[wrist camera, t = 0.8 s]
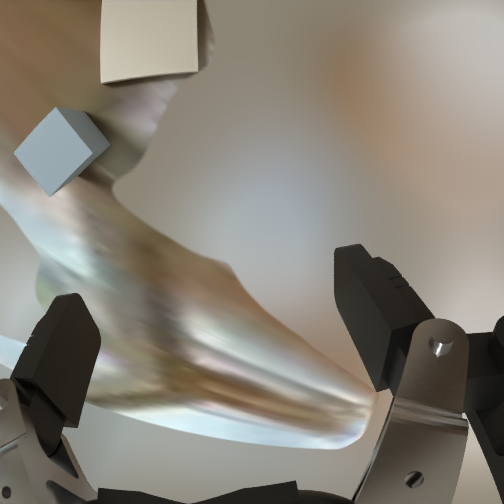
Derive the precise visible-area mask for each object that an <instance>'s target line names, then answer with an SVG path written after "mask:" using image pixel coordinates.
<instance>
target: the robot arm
mask: <svg viewBox="0 0 504 504" xmlns="http://www.w3.org/2000/svg"><path fill="white" fill-rule="evenodd" d="M334 295H335V301H336V305H337V308H338V311H339V313H340V315H341V317H342V319H343V321H344V323H345V325H346V327H347V329H348V331H349V334H350V335H351V338H352V340H353V342H354V344H355V346H356V348H357V350H358V352H359V355H360V357H361V359H362V361H363V363H364V365H365V368H366V370H367V372H368V374H369V376H370V379H371V381H372V383H373V385H374V388H375V390H376V392H379V391H382V390H385V389H388V388H390V390H391V393H392V395H393V399H392V402H391V405H390V408H389V411H388V414H387V417H386V419H385V422H384V425H383V428H382V430H381V433H380V436H379V438H378V441H377V443H376V446H375V448H374V451H373V453H372V456H371V458H370V460H369V463H368V465H367V467H366V469H365V471H364V473H363V476H362V478H361V480H360V482H359V484H358V486H357V488H356V490H355V493H354V495H353V497H352V499H351V500H349V499H347V498H344V497H341V496H338V495H335V494H331V493H326V492H321V491H312V490H298V489H297V483H296V481H290V482H285V483H280V484H273V485H267V486H260V487H252V488H243V489H240V490H237V491H234V492H231V493H228V494H225V495H221V496H218V497H214V498H211V499H208V500H204V501H200V502H197V503H192V504H451V503H452V499H453V496H454V493H455V489H456V486H457V482H458V478H459V474H460V470H461V466H462V462H463V457H464V452H465V447H466V442H467V436H468V429H469V426H468V421H467V419H463V418H462V413H465V414H466V416H467V418H468V420H469V422H470V424H471V427H472V429H473V431H474V433H475V435H476V437H477V440H478V442H479V444H480V446H481V449H482V451H483V454H484V456H485V458H486V461H487V463H488V466H489V468H490V471H491V473H492V476H493V478H494V481H495V484H496V486H497V489H498V492H499V494H500V497H501V500H502V503H503V504H504V316H502V317H501V318H500V319H499V320H498V321H497V323H496V325H495V328H494V330H493V332H486V333H472V334H466V333H465V331H464V330H463V329H462V328H461V327H460V326H459V325H457V324H455V323H454V322H452V321H449V320H445V319H439V318H438V319H437V318H435V317H434V315H433V314H432V313H431V311H430V310H429V309H428V308H427V307H426V305H425V304H424V302H423V301H422V300H421V299H420V298H419V296H418V295H417V294H416V292H415V291H414V290H413V289H412V287H411V286H410V287H409V284H408V282H407V281H406V280H405V279H404V278H402V275H401V274H400V273H399V271H398V270H397V269H396V268H395V267H394V265H393V264H391V263H389V262H387V261H386V260H384V259H382V258H380V257H375V258H372V257H371V256H370V255H369V253H368V252H367V251H366V250H365V248H364V247H363V246H362V245H361V244H355V245H350V246H344V247H339V248H336V249H335V252H334ZM26 344H27V346H25V347H24V349H23V351H22V353H21V355H20V357H19V360H18V362H17V364H16V366H15V368H14V370H13V372H12V374H11V377H10V379H0V504H186V503H181V502H177V501H173V500H168V499H165V498H161V497H157V496H153V495H150V494H147V493H143V492H139V491H126V490H115V489H105V488H98V493H97V492H96V491H95V490H94V489H93V488H92V486H91V485H90V484H89V482H88V481H87V479H86V477H85V475H84V473H83V471H82V469H81V468H80V465H79V464H78V461H77V459H76V457H75V455H74V453H73V451H72V449H71V447H70V445H69V442H68V440H67V438H66V437H65V436H64V435H63V434H62V430H63V427H71V428H78V425H79V420H80V416H81V412H82V408H83V405H84V401H85V397H86V393H87V390H88V386H89V383H90V379H91V376H92V372H93V369H94V366H95V362H96V359H97V356H98V353H99V350H100V346H101V336H100V332H99V329H98V327H97V325H96V324H95V322H94V320H93V318H92V316H91V314H90V312H89V311H88V309H87V307H86V305H85V303H84V301H83V299H82V297H81V296H80V295H79V294H78V293H72V294H65V295H59V296H56V297H55V299H54V300H53V302H52V304H51V305H50V307H49V309H48V311H47V313H46V314H45V315H44V316H43V318H42V319H41V320H40V321H39V322H38V323H37V325H36V327H35V328H34V330H33V332H32V334H31V337H30V338H29V340H28V342H27V343H26Z"/></svg>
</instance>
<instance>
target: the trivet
mask: <svg viewBox="0 0 504 504" xmlns="http://www.w3.org/2000/svg"><path fill="white" fill-rule="evenodd" d="M100 65H101V83H102V84H107V83H113V82H119V81H125V80H132V79H139V78H147V77H155V76H164V75H175V74H188V73H197V72H198V47H197V0H102V12H101V43H100Z"/></svg>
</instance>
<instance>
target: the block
mask: <svg viewBox="0 0 504 504" xmlns="http://www.w3.org/2000/svg"><path fill="white" fill-rule="evenodd" d="M110 145H111V144H110V143H109V141H108V140H107V139H106V138H105V137H104V135H103V134H102V133H101V132H100V130H99V129H98V128H97V127H96V125H95V124H94V123H93V122H92V121H91V119H90V118H89V117H88V116H87V114H86V113H85V112H84V111H80V110H74V109H67V108H59V107H55V108H54V109H53V110H52V111H51V112H50V113H49V114H48V115H47V116H46V117H45V118H44V119H43V120H42V122H41V123H40V124H39V125H38V126H37V127H36V128H35V129H34V130H33V131H32V132H31V133H30V135H29V136H28V137H27V138H26V139H25V140H24V141H23V143H22V144H21V145H20V146H19V147H18V148H17V150H16V151H15V152H14V154H15V156H16V157H17V158H18V159H19V161H20V162H21V163H22V165H23V166H24V167H25V168H26V170H27V171H28V172H29V173H30V175H31V176H32V177H33V178H34V179H35V181H36V182H37V183H38V184H39V185H40V187H41V188H42V189H43V190H44V191H45V193H46V194H47V195H48V196H49V197H51V196H52V195H53V194H54V193H56V192H57V191H58V190H60V189H61V188H62V187H64V186H65V185H66V184H68V183H69V182H70V181H72V180H73V179H75V178H76V177H77V176H78V175H79V174H80V173H81V172H82V171H83V170H85V169H86V168H87V167H88V166H89V165H90V164H91V163H92V162H93V161H94V160H95V159H96V158H97V157H98V156H99V155H100V154H101V153H102V152H104V151H105V150H106V149H107V148H108V147H109V146H110Z"/></svg>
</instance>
